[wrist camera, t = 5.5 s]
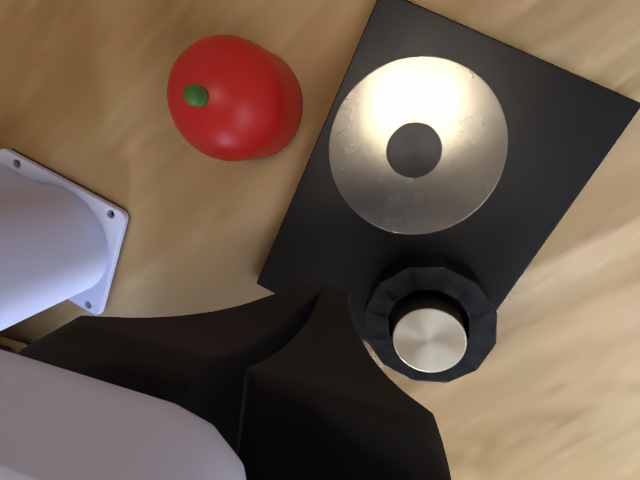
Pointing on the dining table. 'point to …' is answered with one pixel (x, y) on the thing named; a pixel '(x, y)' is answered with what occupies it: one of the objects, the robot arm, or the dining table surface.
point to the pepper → (233, 99)
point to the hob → (477, 229)
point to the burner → (418, 145)
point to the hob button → (429, 333)
